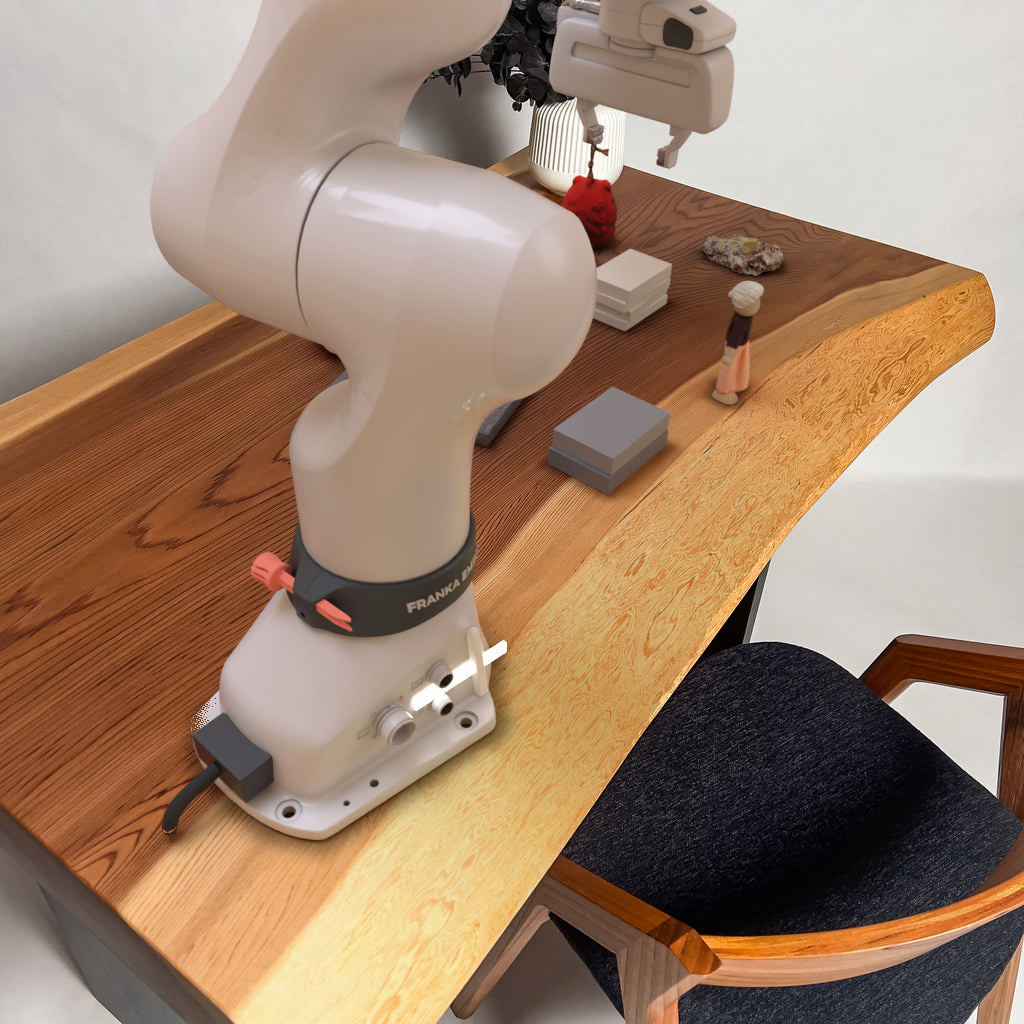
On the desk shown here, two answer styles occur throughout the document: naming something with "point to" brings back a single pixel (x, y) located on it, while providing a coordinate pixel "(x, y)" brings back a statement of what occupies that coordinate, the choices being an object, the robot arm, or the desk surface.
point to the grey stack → (609, 439)
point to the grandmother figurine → (738, 342)
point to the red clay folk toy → (593, 205)
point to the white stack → (630, 307)
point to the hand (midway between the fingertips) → (628, 154)
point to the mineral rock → (743, 254)
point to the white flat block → (631, 275)
